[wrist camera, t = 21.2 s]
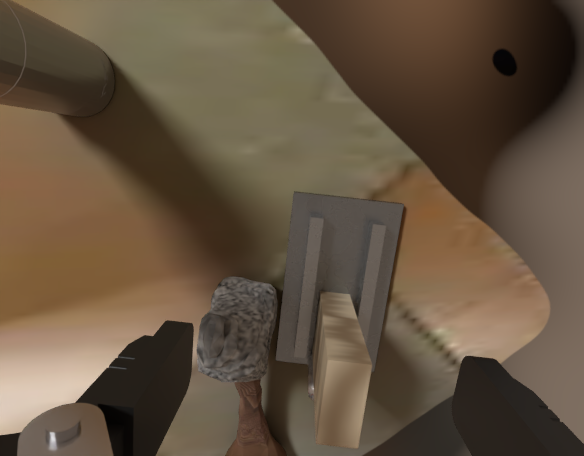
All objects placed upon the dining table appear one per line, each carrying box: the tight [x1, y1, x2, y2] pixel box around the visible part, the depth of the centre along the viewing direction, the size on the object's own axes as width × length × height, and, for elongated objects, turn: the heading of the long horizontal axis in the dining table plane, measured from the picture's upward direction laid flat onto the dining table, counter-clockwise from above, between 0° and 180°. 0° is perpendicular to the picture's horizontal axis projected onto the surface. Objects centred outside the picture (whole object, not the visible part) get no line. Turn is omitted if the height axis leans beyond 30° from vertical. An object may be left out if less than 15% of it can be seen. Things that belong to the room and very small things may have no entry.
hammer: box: [197, 276, 287, 456], centre depth 46 cm, size 15×10×30 cm
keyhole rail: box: [276, 191, 404, 400], centre depth 44 cm, size 14×24×8 cm, turn 174°
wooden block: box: [312, 291, 372, 449], centre depth 40 cm, size 4×9×16 cm, turn 174°
